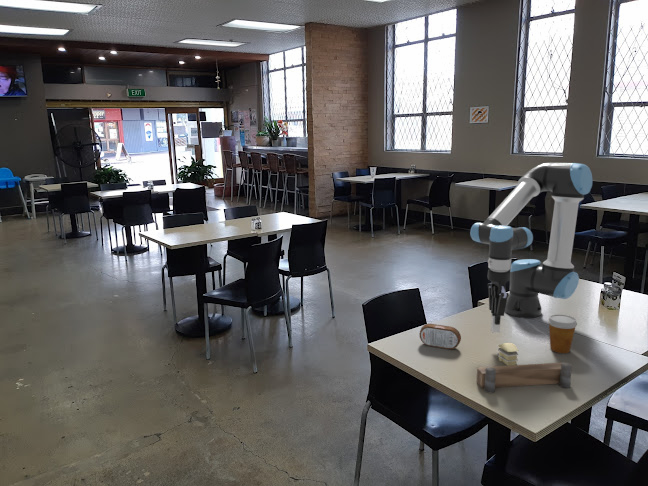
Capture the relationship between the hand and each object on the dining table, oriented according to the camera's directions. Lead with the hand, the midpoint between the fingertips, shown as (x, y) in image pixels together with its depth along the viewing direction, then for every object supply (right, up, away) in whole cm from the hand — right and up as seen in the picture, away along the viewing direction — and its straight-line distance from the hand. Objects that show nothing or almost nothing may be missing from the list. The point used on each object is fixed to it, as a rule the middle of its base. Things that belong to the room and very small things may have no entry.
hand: (495, 331), depth 180 cm
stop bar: (0, -12, -25) cm, 28 cm away
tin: (-20, -7, +3) cm, 21 cm away
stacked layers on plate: (+1, -9, -9) cm, 13 cm away
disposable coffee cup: (+23, -6, -2) cm, 24 cm away
